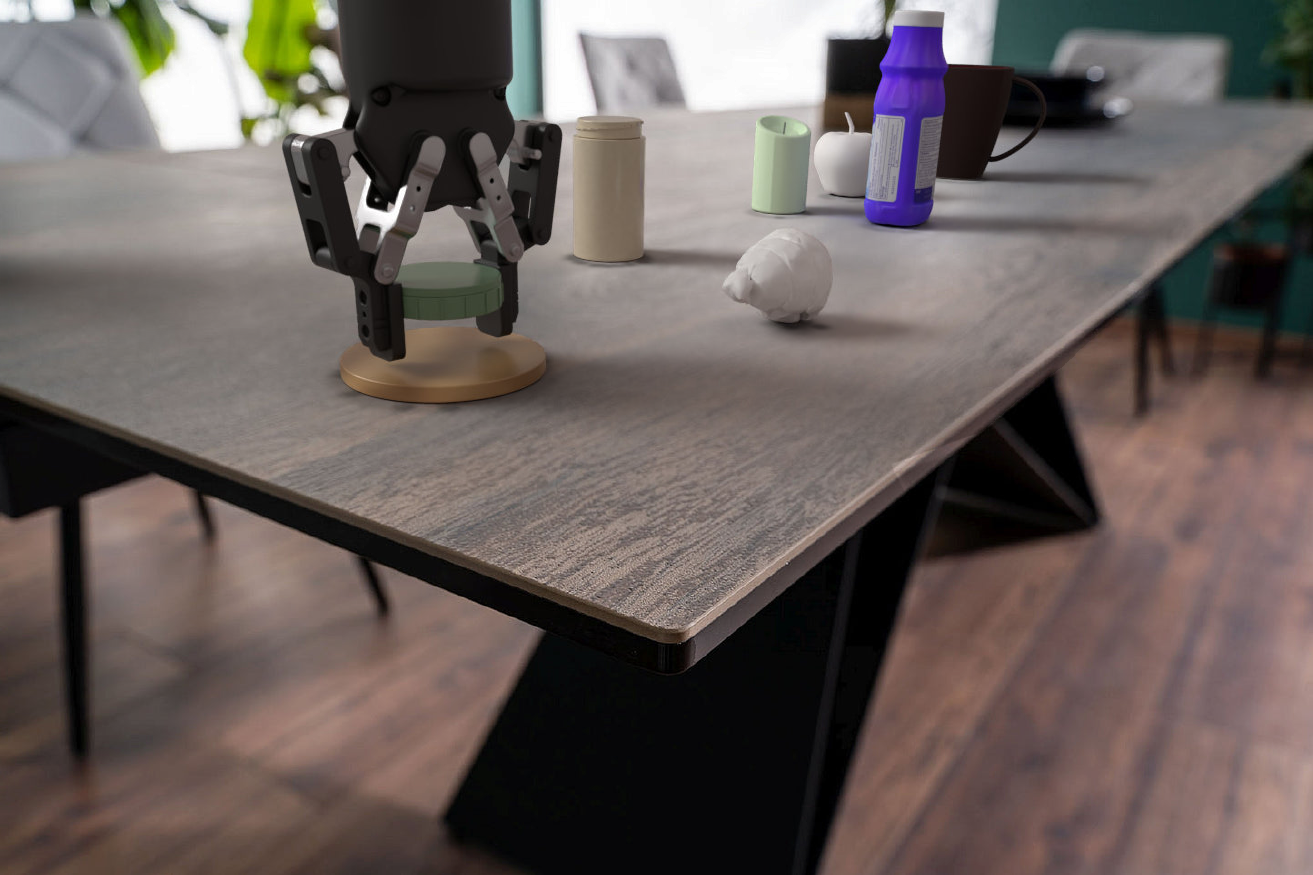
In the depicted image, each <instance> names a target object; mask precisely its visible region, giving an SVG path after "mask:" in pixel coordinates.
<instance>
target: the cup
mask: <svg viewBox="0 0 1313 875" xmlns="http://www.w3.org/2000/svg"><path fill="white" fill-rule="evenodd" d="M947 64H948V71H947V72H946V73H945V75H944V77H943V84H944V91H945V110H944V113H943V120H942V128H941V136H940V145H939V154H938V162H937V171H936V179H947V180H948V179H949V180H964V181H965V180H966V181H975V180H978V179H981V178H982V177H983V175H984V173H985V171H986V169H987V166H988V165H989V163H997V162H1000V161H1003V160H1005V159H1007V158H1009V157H1011V156H1012V155H1014V154H1016V153H1017V152H1019V151H1020V150H1021V149H1023V148H1024V147H1026V146H1027V145H1028V144H1029V143H1030V142H1031V141H1032V140H1033V139H1034V138H1035V137H1036V136H1037V134H1038V133H1039V131H1040V130H1041V128H1042V126H1043V124H1044V123H1045V120H1046V116H1047V102H1046V98H1045V95H1044V93H1043V92H1042V90H1041V89H1040V88H1039V87H1038V86H1037V85H1035V83H1033V82H1032V81H1030V80H1028V79H1027V78H1026V79H1025V78H1024V77H1019V76H1015V72H1016V71H1015V70H1016V69H1015V67H1013V66H1006V65H991V64H969V63H968V64H966V63H947ZM1013 83H1015V84H1019V85H1022V86H1025V87H1026V88H1028V89H1029V90H1030V91H1032V92H1033V93H1034V94H1035V95H1036V96H1037V99H1038V101H1039V104H1040V116H1039V119H1038V121H1037V123H1036V125H1035V127H1034V128H1033V129H1032V131H1031V132H1030V133H1029V134H1028V135H1027V136H1026V137H1025V138H1024V139H1023V140H1021V142H1019V143H1018V144H1016V145H1015V146H1013V147H1012V148H1010V149H1008V150H1007V151H1005V152H1003V153H1000V154H997V155H994V156H993V152H994V150H995V147H996V144H997V141H998V138H999V134H1000V132H1001V129H1002V125H1003V122H1004V118H1005V115H1006V112H1007V109H1008V105H1009V100H1010V98H1011V93H1012V88H1013Z"/></svg>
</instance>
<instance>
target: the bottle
mask: <svg viewBox="0 0 1313 875" xmlns="http://www.w3.org/2000/svg"><path fill="white" fill-rule="evenodd" d="M945 16H946V15H945V12H944V11H939V10H919V9H916V10H914V9H904V10H903V9H900V10H896V11H894V18H893V24H892V34H891V38H890V39H891V40H890V43H889V46H888V49H887V52H886V53H885V55H884V57H883V58H882V60H881V61H880V63H879V70H880V71H881V75H882V77H881V80H880V82H879V85H878V86H877V89H876V93H875V97H874V102H873V117H872V118H873V121H872V132H871V134H872V140H871V149H870V159H869V169H868V178H867V187H866V195H865V199H864V200H863V210H864V215H865V218H866V219H867V221H869V222H870V223H873V224H882V225H891V226H898V227H911V226H912V227H913V226H917V225H920V224H923V223H925V222H926V221H927V220H928V219H929V218H930V216H931V214H932V212H933V207H934V197H935V190H936V189H935V188H936V180H937V178H936V171H937V162H938V154H939V145H940V136H941V128H942V120H943V113H944V110H945V91H944V84H943V77H944V75H945V73H946V72H947V71H948V64H949V63H948V62H947V60H946V56H945V53H944V44H943V38H944V36H943V35H944V34H943V33H944V27H945V26H944V25H945Z"/></svg>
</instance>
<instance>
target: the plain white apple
mask: <svg viewBox="0 0 1313 875" xmlns="http://www.w3.org/2000/svg"><path fill="white" fill-rule="evenodd" d="M844 115H845V117H846V120H847V123H848V126H849V130H848V132H846V131H829V132H825V133H824V134H823V135H822V136H821V137H820V138H819V139H818V141H817V142H816V145H815V147H814V151H813V162H814V167H815V169H816V172H817V175H818V178H819V180H820V183H821V186H822V189H823V190H824V191H825V192H826V193H827V194H829V195H832V194H833V195H835V196H842V197H843V196H844V197H852V198H854V197H866V187H867V178H868V169H869V159H870V149H871V140H872V133H869V132H856V131H855V125H854V122H853V120H852V117H851V115H850V113H849V112H847V111H845V112H844Z"/></svg>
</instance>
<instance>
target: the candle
mask: <svg viewBox="0 0 1313 875" xmlns="http://www.w3.org/2000/svg"><path fill="white" fill-rule="evenodd" d="M811 141H812V131H811V128H810V127H809V126H808V124H806V123H805V122H804V121H803V122H802V121H800V120H798V119H796V118H792V117H788V116H785V115H779V114H778V115H777V114H776V115H774V114H769V115H763V116H760V117H758V118H757V120H756V121H755V135H754V154H753V170H752V171H753V172H752V190H751V205H750V206H751V209H752V210H754V211H756V212H759V213H763V214H772V215H773V214H774V215H795V214H800V213H803V212H804V211H806V208H807V196H808V184H809V183H808V181H809V180H808V179H809V168H810V156H811V155H810V154H811Z"/></svg>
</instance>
